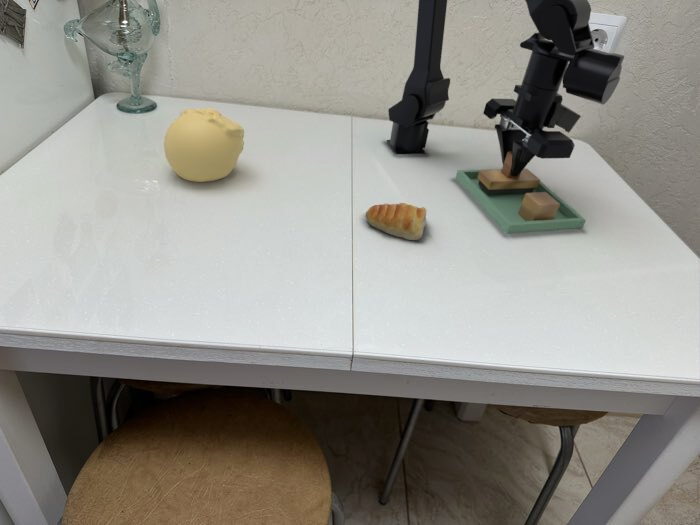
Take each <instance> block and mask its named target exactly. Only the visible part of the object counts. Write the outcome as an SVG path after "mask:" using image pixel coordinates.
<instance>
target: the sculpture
mask: <svg viewBox="0 0 700 525" xmlns="http://www.w3.org/2000/svg"><path fill="white" fill-rule="evenodd" d="M244 137H245V130H244V128H243V126H242V125H240V124H239V123H237V122H235V121H233V120H231V119H229V118H227V116H224V115H223V114H222V113H221V112H220V111H218V110H217V109H215V108H212V107H207V108H198V109H195V108H185V109H183V110H181V112H180V115H179V116H178V117H176V119H174V120H173V121H172V122H171V123H170V125H169V127H168V128H167V130H166V132H165V135H164V140H163V151H164V155H165V158H166V161H167V162H168V165H169V166H170V167H171V170H173V171H174V173H175V174H177V175H178V177H180V178H182V179H184V180H186V181H189V182H198V183H202V182H203V183H204V182H212V181H217V180H220V179H223V178H225V177H227V176H229V175H230V174H231V173H232V171H233V170H234V168H235V166H236V164H237V162H238V160H239V157H240V155H241V154H242V152H243V151H244V145H245V141H244Z"/></svg>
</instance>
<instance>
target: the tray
mask: <svg viewBox="0 0 700 525" xmlns="http://www.w3.org/2000/svg"><path fill="white" fill-rule="evenodd" d="M495 169H496V168H489V169H488V168H487V169H486V168H485V169H484V168H483V169H482V170H495ZM524 169H526V167H525V168H524ZM479 170H480V169H459V170H457V172H456V175H455V179H456V180H457V181H458V182H459V183H460V184H461V185H462V187H463V188H464V189H465V190H467V192H468V193H469V194H470V195H471V196H472V197H473V199H475V201H476V202H477V203H478V204H479V205H480V206H481V207H482V208H483V209H484V211H485V212H486V213H487V214H488V215H489V216H490V217H491V218H492V219H493V220H494V221H495V222H496V224H497V225H498V226H499V227H500V228H501V229H502V230H503V231H504V232H505V234H518V233H519V234H520V233H531V232H532V233H533V232H544V231H558V230H571V229H582V228H583V227H584V224H585V223H586V219H585V217H583V216H582V215H581V214H579V213H578V211H576V210H574V208H573V207H571V206H570V205H569V204H568V203H567V202H565V201H564V200H563V199H562V198H560V197H559V196H558V194H556V193H555V192H554V191H552V189H550V188H549V187H548V186H547V185H545V184H544V182H542V181H541V180H540V182H539V185H538V188H534V190H533V193H537V192H546V193H548V194H549V195H550V196H551V197H552V198H553V199H555V200H556V201H557V202H558V203H559V204H560V206H559V208H558V210H557V213H556V215H555V217H554V220H539V221H525V220H524V219H523V218H522V217H521V216H520V215H519V214H518V212H519V210H520V207H521V204H522V202H523V199H524V196H525V193H517V194H494V195H488V194H487V193H486V192H485V191H484V190H483V189H482V188H481V187H480V186H479V185H478V183H479V179H478V178H477V177H478V174H479Z"/></svg>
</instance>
